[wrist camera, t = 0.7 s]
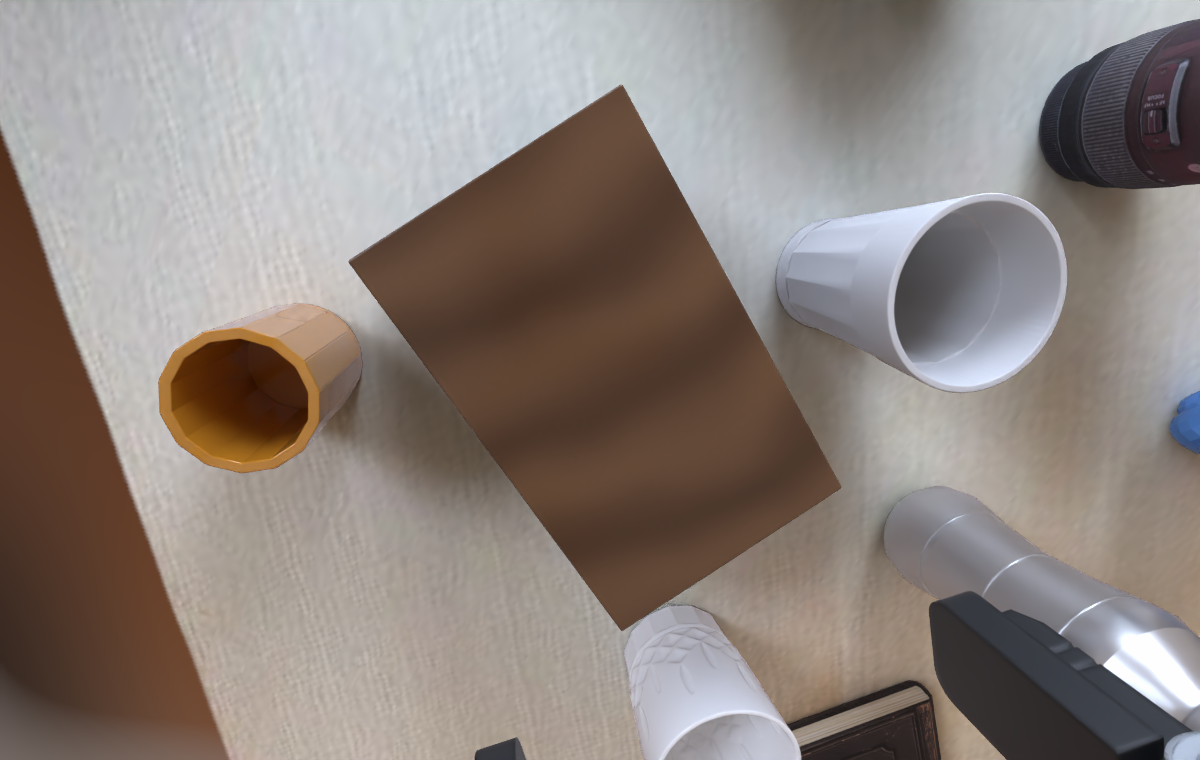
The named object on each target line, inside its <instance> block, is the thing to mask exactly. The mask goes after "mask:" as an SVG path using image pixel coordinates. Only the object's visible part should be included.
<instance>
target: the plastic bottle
mask: <svg viewBox="0 0 1200 760" xmlns="http://www.w3.org/2000/svg"><path fill="white" fill-rule="evenodd" d="M884 546H885V551H886V554H887V556H888V558H889V559H890V561H891V562H892V564H893V565H894V566H895V568H896V569H897V570H898V572H899V573H900V574H901V576H902V577H903V578H905V579H906V580H907V581H908V582H910V583H911V584H913V585H914V586H916V587H917V588H919V589H921V590H922V591H924V592H926V593H928V594H930V595H931V596H933V597H936V598H938V599H940V600H941V599H945V598H948V597H951V596H954V595H957V594H960V593H963V592H966V591H973V592H975V593H977V594H978V595H980V596H981V597H983V598H984V599H985V600H986V601H988V602H989V603H990V604H992V605H993V606H994V607H996V608H997V609H998V610H999V611H1001V612H1004V611H1007V610H1010V609H1011V610H1014V611H1016V612H1019V613H1021V614H1024V615H1026V616H1028V617H1031V618H1033V619H1036V620H1038V621H1041V622H1043V623H1045V624H1046V625H1048V626H1049V627H1050V628H1052V629H1053V630H1055V631H1056V632H1057V633H1059V634H1060V635H1061V636H1063V637H1064V638H1066V639H1067V640H1068V641H1070V642H1071V643H1072V645H1073V647H1078V648H1079V649H1081V650H1082V651H1083V652H1085V653H1086V654H1088V655H1089V656H1090V657H1092V658H1093V659H1094V660H1095V662H1096V663H1097V664H1101V665H1103V666H1104V667H1105V668H1107V669H1108V670H1110V671H1111V672H1112V673H1114V674H1115V675H1116V676H1118V677H1119V678H1121V679H1122V680H1123V681H1125V682H1126V683H1127V684H1129V685H1130V686H1132V687H1133V688H1134V689H1136V690H1137V691H1138V692H1140V693H1141V694H1143V695H1144V696H1145V697H1147V698H1148V699H1149V700H1151V701H1152V702H1154V703H1155V704H1156V705H1158V706H1159V707H1160V708H1162V709H1163V710H1165V711H1166V712H1167V713H1169V714H1170V715H1171V716H1173V717H1174V718H1176V719H1177V720H1178V721H1180V722H1181V723H1182V724H1184V725H1185V726H1187V727H1188V728H1190V729H1191V730H1193V731H1194V732H1200V638H1199V637H1198V636H1197V635H1196V634H1195V633H1194V632H1193V631H1192V630H1191V629H1190V628H1189V627H1188V626H1187V625H1186V624H1185V623H1184V622H1183V621H1182V620H1181V619H1180V618H1179V617H1177V616H1175V615H1173V614H1171V613H1169V612H1167V611H1165V610H1163V609H1161V608H1159V607H1158V606H1156V605H1154V604H1152V603H1150V602H1147V601H1144V600H1142V599H1140V598H1138V597H1136V596H1134V595H1131V594H1129V593H1127V592H1124V591H1122V590H1120V589H1117V588H1115V587H1113V586H1111V585H1108V584H1106V583H1104V582H1101V581H1099V580H1097V579H1094V578H1092V577H1090V576H1088V575H1086V574H1084V573H1082V572H1080V571H1079V570H1077V569H1075V568H1073V567H1071V566H1069V565H1067V564H1066V563H1064V562H1062V561H1059V560H1058V559H1056V558H1055V557H1053V556H1051V555H1049V554H1047V553H1045V552H1043V551H1042V550H1040V549H1039V548H1038V547H1036V546H1035V545H1034V544H1032V543H1031V542H1029V541H1028V540H1027V539H1025V538H1024V537H1023V536H1021V535H1020V534H1018V533H1017V532H1016V531H1014V530H1013V529H1012V528H1010V527H1009V526H1008V525H1006V524H1005V523H1004V522H1003V521H1002V520H1001V519H1000V518H999V517H998V516H997V515H996V514H995V513H994V512H993V511H992V510H990V509H989V508H988V507H987V506H986V505H984V504H983V503H982V502H981V501H979V500H978V499H977V498H975V497H973V496H971V495H969V494H967V493H964V492H961V491H958V490H955V489H952V488H948V487H943V486H935V487H929V488H924V489H920V490H917V491H915V492H912V493H910V494H909V495H907V496H905V497H904V498H903V499H901V500H900V501H899V502H898V503H897V504H896V505H895V506H894V508H893V509H892V511H891V512H890V514H889V516H888V518H887V520H886V523H885V527H884Z"/></svg>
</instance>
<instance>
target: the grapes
mask: <svg viewBox="0 0 1200 760" xmlns="http://www.w3.org/2000/svg"><path fill="white" fill-rule="evenodd" d="M1177 412H1178V415H1177V416H1176V417H1174V418H1173V420H1172V422H1171V424H1170V427H1169V430H1170V432H1171V435H1172V437H1173V438H1174V439H1175V440H1176V441H1177V442H1178V443H1179V444H1181V445H1182V446H1184V447H1185V448H1187V449H1189V450H1191V451H1192V452H1194V453H1196V454H1200V391H1198V392H1196V393H1193V394H1191V395H1189V396H1188V397H1186V398H1185V399H1184V400H1182V401H1181V403H1180V405H1179V408H1178V410H1177Z"/></svg>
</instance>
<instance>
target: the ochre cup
mask: <svg viewBox="0 0 1200 760" xmlns="http://www.w3.org/2000/svg"><path fill="white" fill-rule="evenodd" d="M361 371H362V354H361V349H360V346H359V343H358V341H357V339H356V337H355V335H354V333H353V332H352V330H351V329H350V328H349V327H348V325H347V324H346V323H345V322H344V321H343V320H342V319H340V318H339V317H338V316H336V315H335V314H333V313H332V312H330V311H328V310H326V309H324V308H321V307H318V306H314V305H310V304H302V303H294V304H286V305H282V306H276V307H272V308H269V309H266V310H263V311H261V312H258V313H255V314H252V315H250V316H247V317H244V318H241V319H238V320H236V321H233V322H230V323H227V324H224V325H222V326H219V327H216V328H213V329H211V330H208V331H205V332H202V333H201V334H199V335H198V336H196V337H194V338H193V339H191V340H190V341H188V342H187V343H185V344H184V345H182V346H181V347H179V348H177V349H176V350H175V351H174V352H173V354H172V356H171V357H170V359H169V361H168V363H167V365H166V367H165V369H164V371H163V372H162V374H161V376H160V378H159V382H158V384H159V409H160V413H161V414H160V415H161V417H162V419H163V420H164V422H165V424H166V425H167V427H168V429H169V431H170V432H171V434H172V436H173V438H174V439H175V441H176V443H178V445H180V446H181V447H182V448H184V449H185V450H186V451H188V452H189V453H191V454H192V455H193V456H195V457H196V458H198V459H199V460H200V461H202V462H203V463H205V464H207V465H209V466H213V467H218V468H222V469H226V470H230V471H234V472H238V473H247V472H254V471H261V470H267V469H274V468H277V467H279V466H280V465H282V464H284V463H285V462H287V461H288V460H290V459H291V458H293V457H294V456H296V455H297V454H299V453H301V452H302V451H303V450H304V449H305V448H306V447H307V446H308V445H309V443H310V442H311V441H312V440H313V439H314V438H315V437H316V435H317V434H318V433H319V432H320V431H321V430H322V428H323V427H324V426H325V425H326V424H327V423H328V421H329V420H330V419H331V418H332V417H333V416H334V415H335V413H336V412H337V411H338V410H339V409H340V408H341V406H342V405H343V404H344V403H345V402H346V401H347V399H348V398H349V396H350V394H351V393H352V391H353V390H354V389H355V387H356V385H357V383H358V381H359V378H360V375H361Z"/></svg>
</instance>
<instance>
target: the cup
mask: <svg viewBox="0 0 1200 760" xmlns="http://www.w3.org/2000/svg"><path fill="white" fill-rule="evenodd" d="M776 286H777V292H778V296H779V299H780V301H781V303H782V305H783V307H784V308H785V310H786V311H787V312H788V314H789V315H790V316H791V317H792V318H794V319H795V320H796V321H798V322H799V323H801V324H803V325H806V326H809V327H812V328H815V329H818V330H822V331H824V332H826V333H828V334H830V335H832V336H834V337H837V338H839V339H841V340H843V341H845V342H847V343H849V344H851V345H853V346H855V347H857V348H859V349H861V350H863V351H866V352H868V353H870V354H872V355H874V356H875V357H877V358H878V359H879V360H881V361H883V362H884V363H886V364H888V365H890V366H892V367H894V368H896V369H898V370H900V371H902V372H904V373H906V374H907V375H909V376H911V377H913V378H915V379H917V380H919V381H921V382H923V383H925V384H927V385H929V386H931V387H933V388H936V389H939V390H942V391H947V392H954V393H968V392H976V391H981V390H984V389H988V388H991V387H993V386H996V385H998V384H1000V383H1002V382H1004V381H1006V380H1008V379H1009V378H1011V377H1012V376H1014V375H1015V374H1017V373H1018V372H1019V371H1021V370H1022V369H1023V368H1024V367H1026V366H1027V365H1028V364H1029V363H1030V362H1031V361H1032V360H1033V359H1034V358H1035V357H1036V355H1037V354H1038V353H1039V352H1040V351H1041V349H1042V348H1043V347H1044V345H1045V344H1046V342H1047V341H1048V339H1049V337H1050V336H1051V334H1052V332H1053V330H1054V328H1055V326H1056V324H1057V322H1058V319H1059V317H1060V314H1061V311H1062V308H1063V304H1064V300H1065V295H1066V288H1067V263H1066V257H1065V252H1064V248H1063V245H1062V242H1061V240H1060V237H1059V235H1058V233H1057V231H1056V229H1055V228H1054V226H1053V225H1052V223H1051V222H1050V220H1049V219H1048V218H1047V217H1046V216H1045V215H1044V214H1043V213H1042V212H1041V211H1040V210H1039V209H1038V208H1036V207H1035V206H1034V205H1032V204H1031V203H1029V202H1027V201H1025V200H1023V199H1021V198H1018V197H1015V196H1012V195H1008V194H1001V193H983V194H977V195H971V196H966V197H961V198H956V199H950V200H945V201H940V202H934V203H929V204H924V205H919V206H913V207H907V208H901V209H895V210H889V211H883V212H877V213H871V214H865V215H859V216H853V217H847V218H841V219H825V220H820V221H816V222H814V223H811V224H809V225H807V226H806V227H804V228H803V229H801V230H800V231H799V232H797V233H796V234H795V235H794V236H793V237H792V238H791V240H790V241H789V242H788V244H787V245H786V247H785V248H784V250H783V252H782V254H781V257H780V259H779V262H778V266H777V272H776Z"/></svg>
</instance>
